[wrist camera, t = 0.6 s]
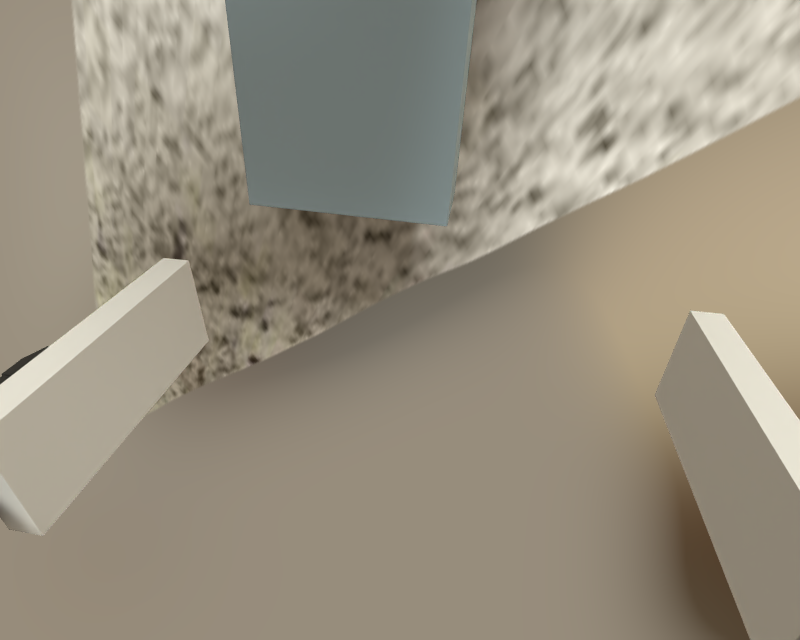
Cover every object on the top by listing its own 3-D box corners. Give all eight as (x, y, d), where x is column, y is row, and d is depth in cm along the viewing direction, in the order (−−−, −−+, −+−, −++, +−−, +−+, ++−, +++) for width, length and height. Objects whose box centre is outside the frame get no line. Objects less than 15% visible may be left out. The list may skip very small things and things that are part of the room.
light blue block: (265, -235, 20) (186, -321, 15) (504, -234, 19) (508, -326, 14) (292, 171, 30) (249, 204, 24) (455, 188, 28) (447, 226, 23)
